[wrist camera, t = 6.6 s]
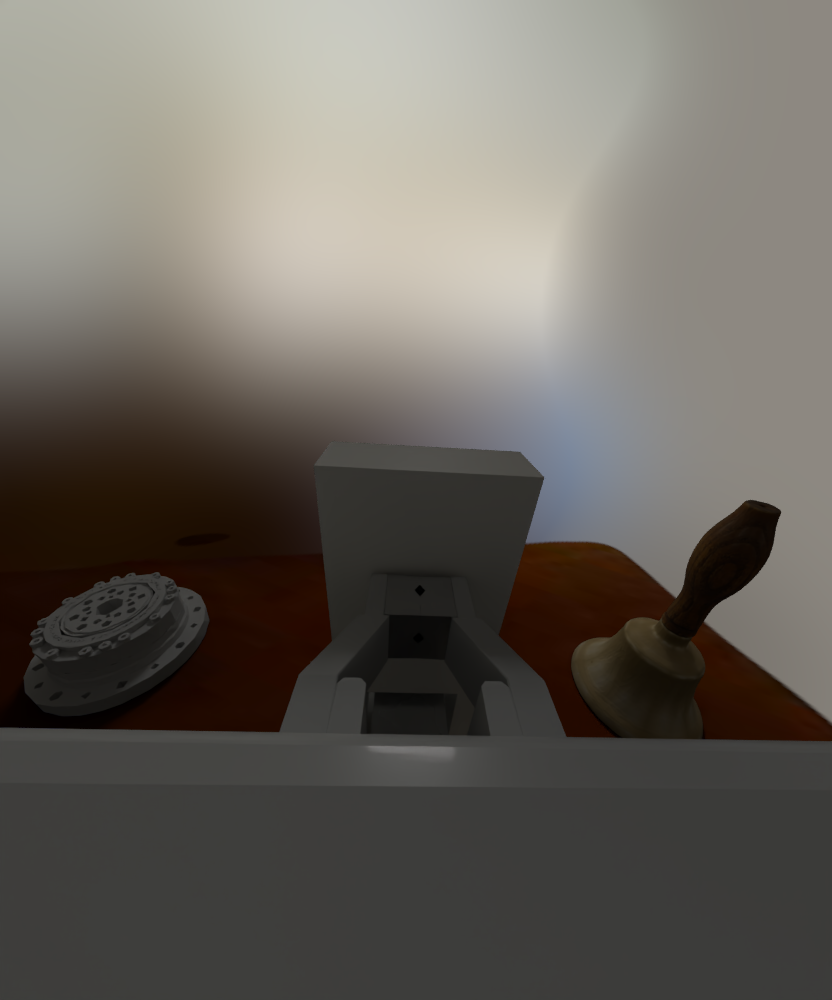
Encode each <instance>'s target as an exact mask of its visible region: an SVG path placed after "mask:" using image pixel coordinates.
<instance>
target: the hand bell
mask: <svg viewBox="0 0 832 1000" xmlns="http://www.w3.org/2000/svg"><path fill="white" fill-rule="evenodd" d="M780 514H781V511H780V510H779V509H778V508H776V507H774V506H772V505H770V504H767V503H763V502H759V501H754V500H748V501H745V502H744V503H743V504H742V505H741V506H740V507H739V508H738V509H736V510H735V511H734V512H733V513H731V514H730V515H729V516H727V517H726V518H724V519H723V520H721V521H720V522H719V523H717V524H716V525H715V526H714V527H712V528H711V529H710V530H709V531H708V532H707V533H706V534H705V535H704V536H703V537H702V539H701V540H700V541H699V543H698V544H697V546H696V548H695V549H694V551H693V553H692V555H691V557H690V559H689V562H688V565H687V568H686V574H685V581H684V585H683V588H682V591H681V592H680V594H679V595H678V597H677V598H676V599H675V601H674V602H673V603H672V605H671V606H670V607H669V608H668V610H667V612H665V613H664V614H663V615H662V618H661V619H660V621H657V620H654V619H650V618H635V619H632V620H630V621H628V622H627V623H626V624H625V626H624V627H623V628H622V629H621V630H620V631H619V632H618V633H617V634H616V635H614V636H613V637H612V638H594V639H590V640H587V641H585V642H583V643H581V644H580V645H579V646H578V647H577V648H576V649H575V651H574V653H573V656H572V663H571V668H572V674H573V677H574V681H575V683H576V686H577V688H578V690H579V692H580V694H581V696H582V697H583V699H584V700H585V702H586V703H587V704H588V706H589V707H590V708H591V710H592V711H593V712H594V713H595V714H596V716H597V717H598V718H599V719H600V720H601V721H602V722H603V723H604V724H606V725H607V726H608V727H609V728H610V729H611V730H612V731H614V732H615V733H616V734H617V735H619V736H620V737H622V738H645V739H702V736H703V723H702V718H701V714H700V711H699V708H698V706H697V704H696V702H695V700H694V698H693V697H694V693H695V690H696V687H697V685H698V683H699V681H700V680H701V678H702V676H703V675H704V672H705V663H704V659H703V657H702V655H701V653H700V652H699V650H698V649H697V647H696V646H695V645H694V644H693V643H692V642H691V641H690V640H691V639H692V637H693V636H695V635H696V633H697V631H698V629H699V628H700V626H701V625H702V623H703V621H704V620H705V618H706V617H707V615H708V614H709V613H710V611H711V610H712V609H713V608H714V607H715V606H716V605H717V604H718V603H720V602H721V601H722V600H724V599H726V598H728V597H729V596H731V595H733V594H735V593H736V592H738V591H739V590H741V589H742V588H743V587H744V586H746V585H747V584H748V583H749V582H750V581H751V580H752V579H753V578H754V577H755V576H756V575H757V574H758V572H759V571H760V570H761V568H762V567H763V566H764V565H765V563H766V561H767V559H768V558H769V556H770V553H771V550H772V547H773V543H774V537H775V531H776V526H777V522H778V519H779V517H780Z"/></svg>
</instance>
